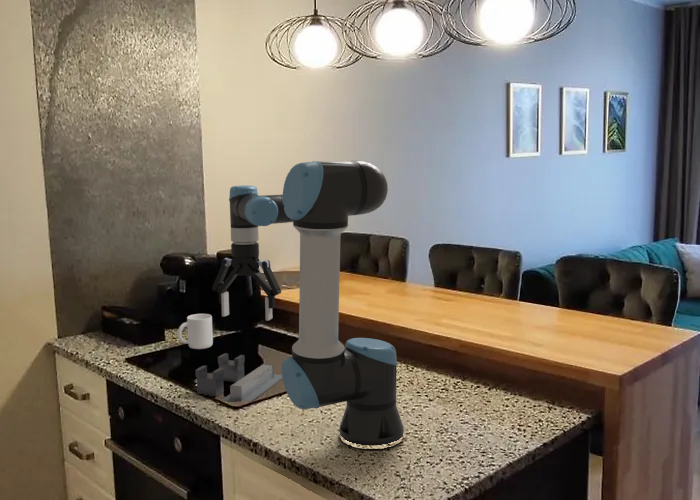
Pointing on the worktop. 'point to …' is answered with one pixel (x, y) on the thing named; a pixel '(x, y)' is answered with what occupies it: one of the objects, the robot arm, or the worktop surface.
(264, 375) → the rail
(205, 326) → the mug
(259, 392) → the mat
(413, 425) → the worktop surface
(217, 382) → the post
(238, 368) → the post
